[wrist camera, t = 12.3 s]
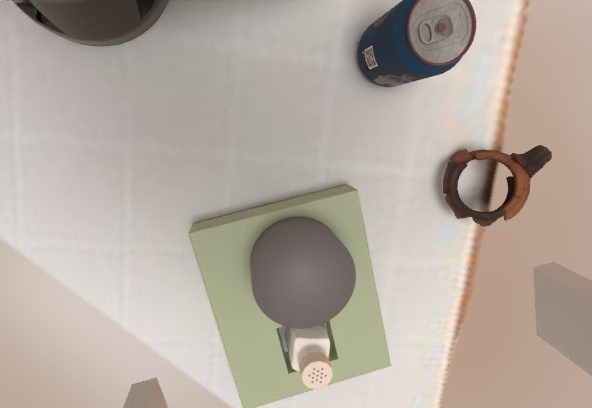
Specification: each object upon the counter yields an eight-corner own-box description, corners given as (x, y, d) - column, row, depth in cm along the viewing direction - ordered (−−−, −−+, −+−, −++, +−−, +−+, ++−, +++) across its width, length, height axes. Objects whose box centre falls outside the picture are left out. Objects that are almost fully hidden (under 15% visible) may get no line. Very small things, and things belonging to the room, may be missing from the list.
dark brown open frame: (473, 236, 48) (481, 245, 40) (424, 180, 50) (422, 178, 42) (560, 175, 44) (587, 172, 36) (504, 117, 46) (517, 102, 38)
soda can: (406, 12, 40) (474, -34, 28) (421, 76, 42) (491, 57, 30) (346, 32, 40) (391, -7, 28) (364, 96, 41) (412, 84, 30)
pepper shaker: (284, 339, 46) (295, 393, 37) (287, 310, 45) (299, 357, 36) (315, 340, 47) (334, 393, 38) (319, 311, 46) (339, 357, 37)
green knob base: (193, 223, 41) (181, 249, 33) (346, 184, 43) (373, 199, 34) (243, 387, 47) (244, 447, 38) (379, 346, 48) (409, 395, 40)
